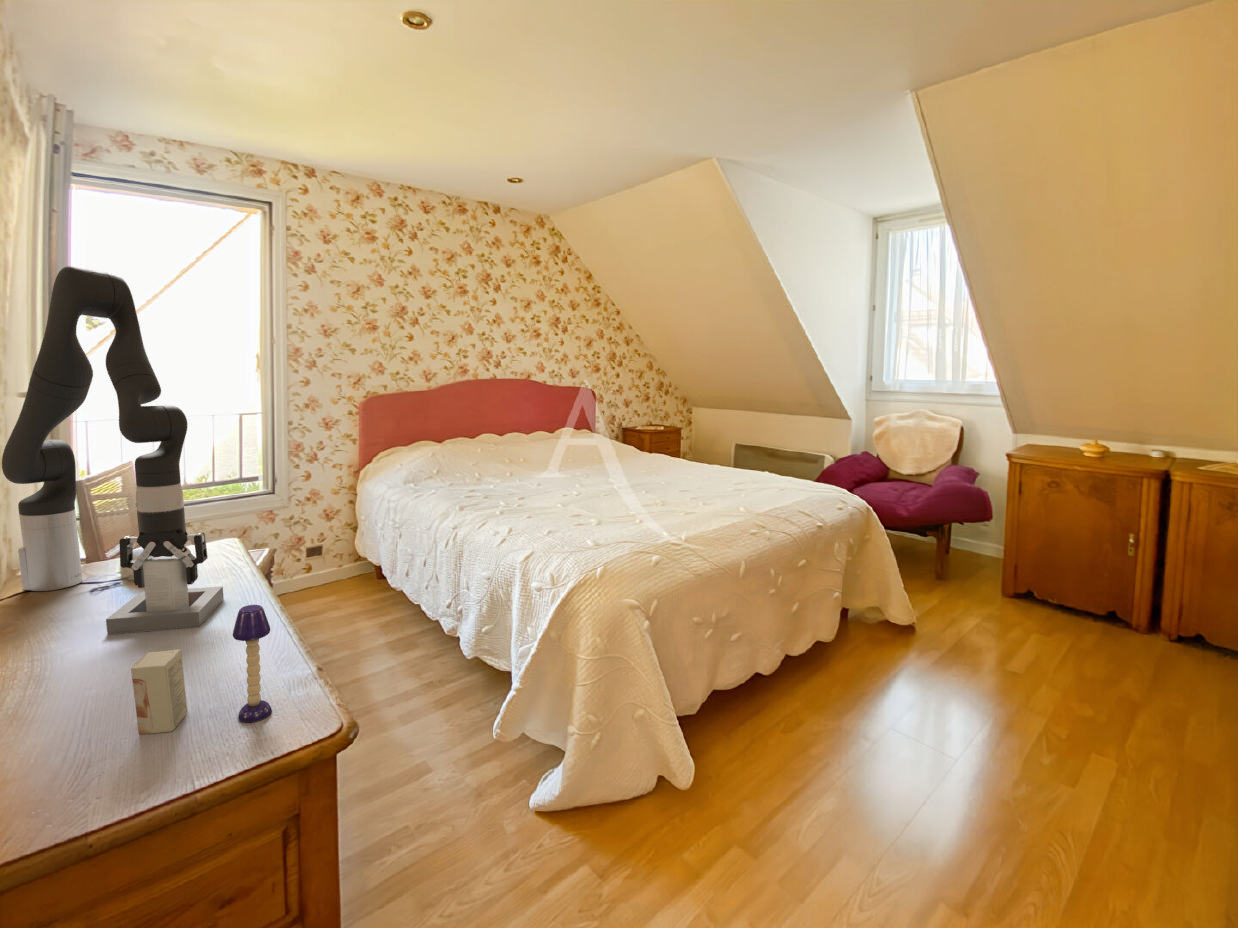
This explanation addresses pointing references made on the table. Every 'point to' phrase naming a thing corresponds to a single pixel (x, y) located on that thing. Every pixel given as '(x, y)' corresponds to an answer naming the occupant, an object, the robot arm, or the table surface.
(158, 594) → the skincare box
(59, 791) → the table surface
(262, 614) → the toy lamp
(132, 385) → the robot arm
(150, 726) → the skincare box
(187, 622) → the socket block
